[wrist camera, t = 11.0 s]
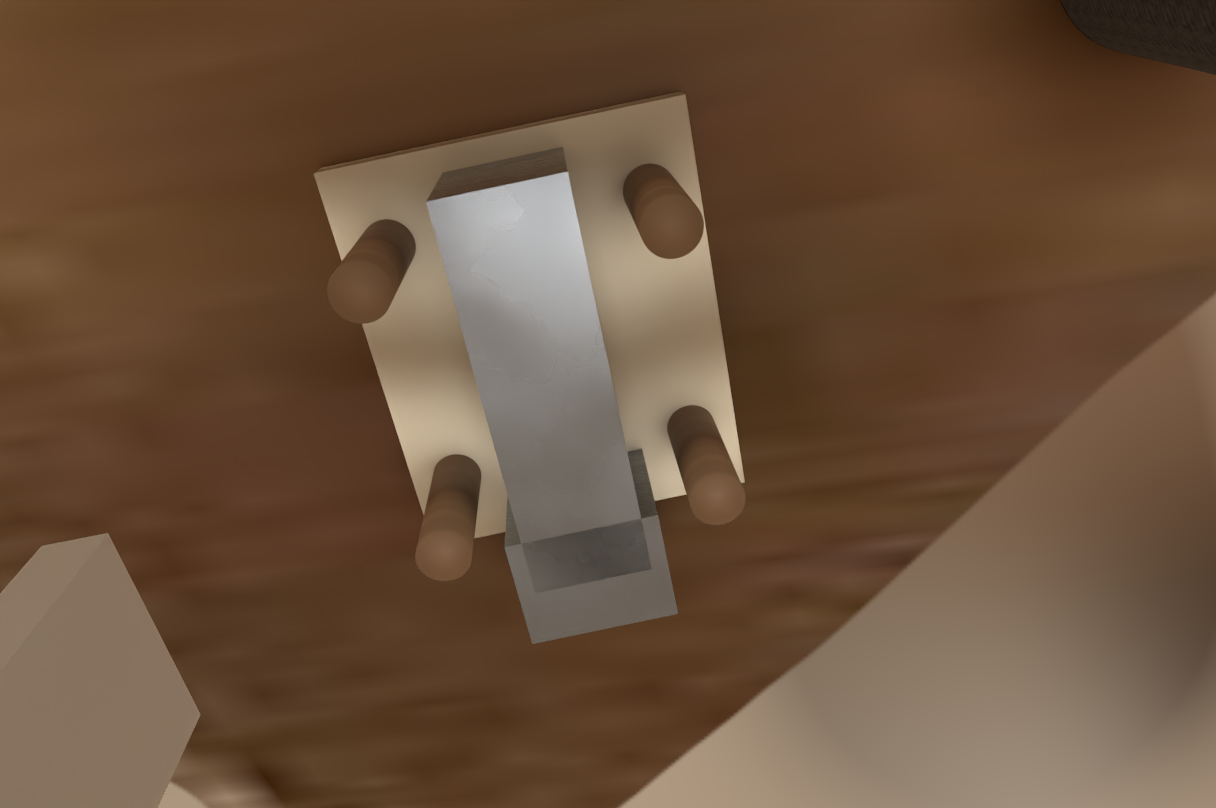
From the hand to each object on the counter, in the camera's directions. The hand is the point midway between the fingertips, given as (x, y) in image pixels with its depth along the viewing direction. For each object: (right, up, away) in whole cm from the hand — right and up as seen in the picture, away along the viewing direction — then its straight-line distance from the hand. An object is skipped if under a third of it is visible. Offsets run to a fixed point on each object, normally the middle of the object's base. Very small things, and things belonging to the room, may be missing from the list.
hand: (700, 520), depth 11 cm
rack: (-3, +4, +20) cm, 20 cm away
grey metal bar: (-3, +3, +19) cm, 19 cm away
